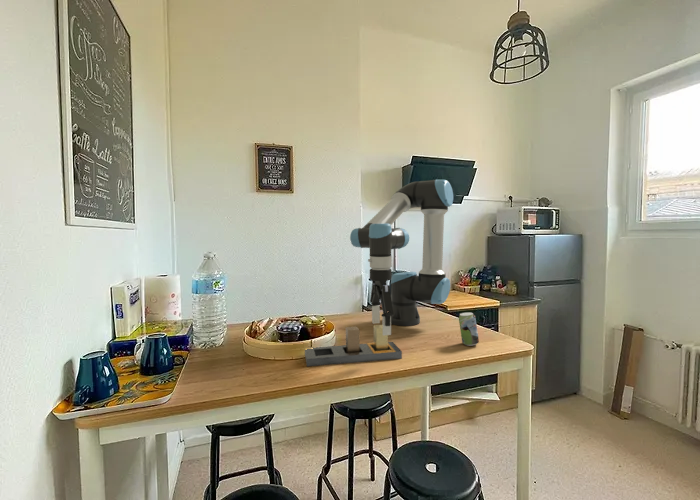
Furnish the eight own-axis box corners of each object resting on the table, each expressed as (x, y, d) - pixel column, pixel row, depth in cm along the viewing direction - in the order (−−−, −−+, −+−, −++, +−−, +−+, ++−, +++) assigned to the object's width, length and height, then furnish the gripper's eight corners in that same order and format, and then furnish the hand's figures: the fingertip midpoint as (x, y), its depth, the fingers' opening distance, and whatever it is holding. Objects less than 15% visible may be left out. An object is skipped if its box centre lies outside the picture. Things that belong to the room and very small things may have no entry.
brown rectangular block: (345, 355, 121) (345, 327, 121) (357, 354, 122) (356, 326, 121) (347, 359, 117) (347, 330, 117) (359, 358, 118) (359, 329, 117)
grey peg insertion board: (304, 355, 122) (304, 347, 121) (392, 348, 128) (392, 341, 127) (306, 366, 112) (306, 358, 112) (401, 358, 118) (401, 350, 118)
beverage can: (480, 347, 127) (480, 315, 127) (459, 346, 129) (459, 314, 128) (477, 342, 134) (478, 311, 133) (457, 341, 135) (457, 310, 134)
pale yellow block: (373, 353, 123) (373, 325, 123) (384, 352, 124) (384, 324, 123) (376, 357, 119) (376, 328, 119) (387, 356, 120) (387, 327, 119)
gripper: (361, 264, 131) (362, 319, 133) (379, 274, 107) (380, 341, 108) (381, 263, 132) (381, 318, 134) (403, 273, 108) (403, 339, 110)
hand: (381, 328), depth 121 cm, fingers open, 13 cm apart
